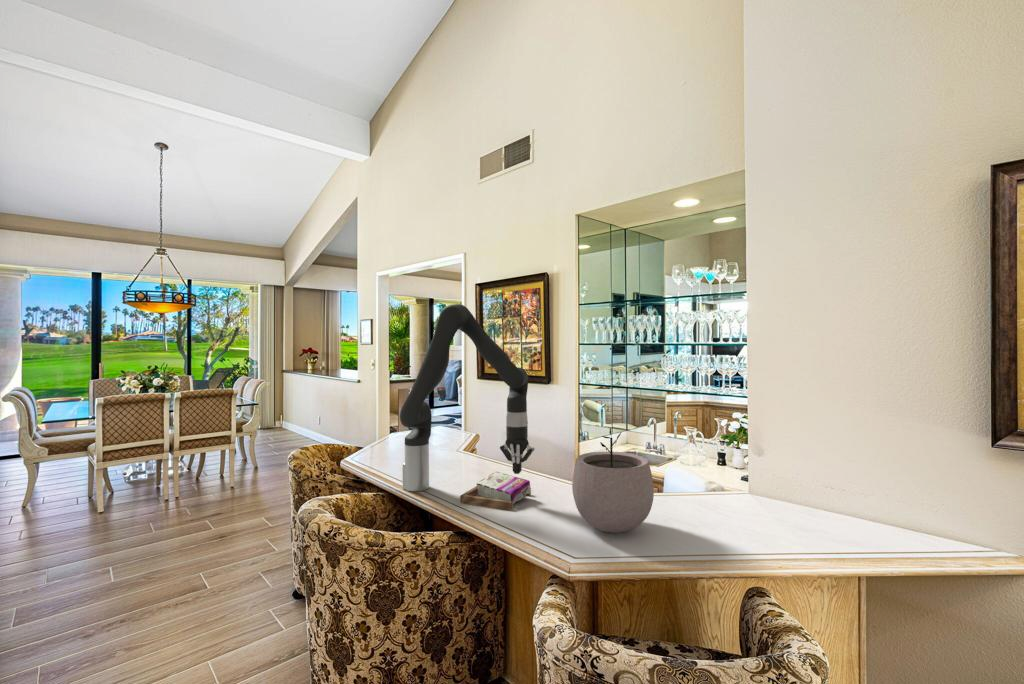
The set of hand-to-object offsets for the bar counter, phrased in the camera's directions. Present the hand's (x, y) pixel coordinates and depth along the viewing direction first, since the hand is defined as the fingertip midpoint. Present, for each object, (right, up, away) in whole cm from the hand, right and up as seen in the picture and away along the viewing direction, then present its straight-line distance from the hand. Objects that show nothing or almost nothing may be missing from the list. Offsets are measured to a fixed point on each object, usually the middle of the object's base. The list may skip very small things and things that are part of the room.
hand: (517, 473), depth 166 cm
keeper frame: (-7, -10, +3) cm, 12 cm away
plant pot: (+28, -10, -25) cm, 39 cm away
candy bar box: (+1, -7, -2) cm, 7 cm away
